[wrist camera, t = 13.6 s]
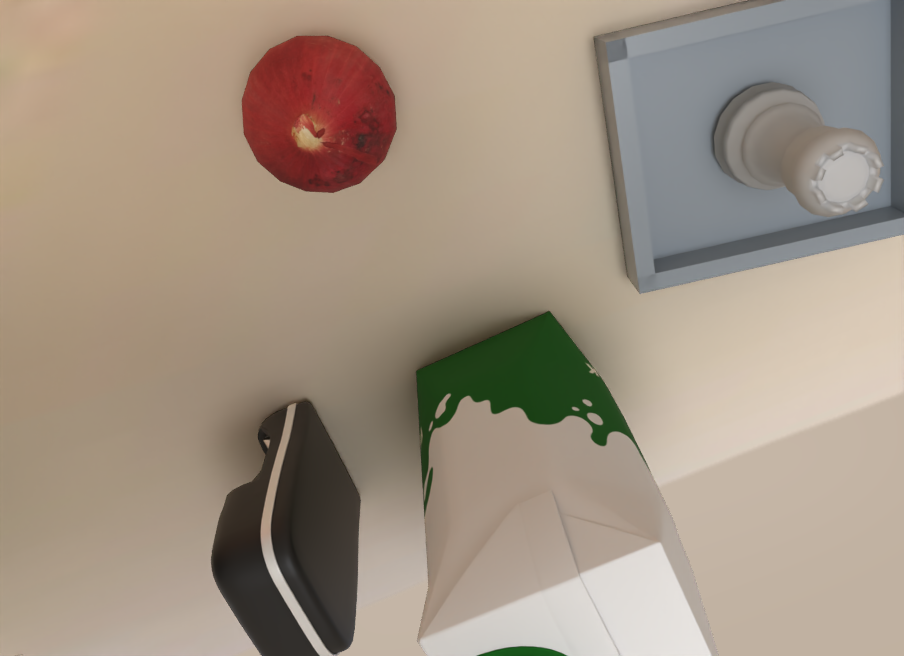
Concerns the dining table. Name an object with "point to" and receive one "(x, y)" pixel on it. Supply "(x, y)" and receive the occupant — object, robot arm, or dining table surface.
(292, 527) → the battery charger
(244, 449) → the dining table surface
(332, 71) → the red round fruit
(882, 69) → the tray
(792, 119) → the rook chess piece
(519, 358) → the milk carton
